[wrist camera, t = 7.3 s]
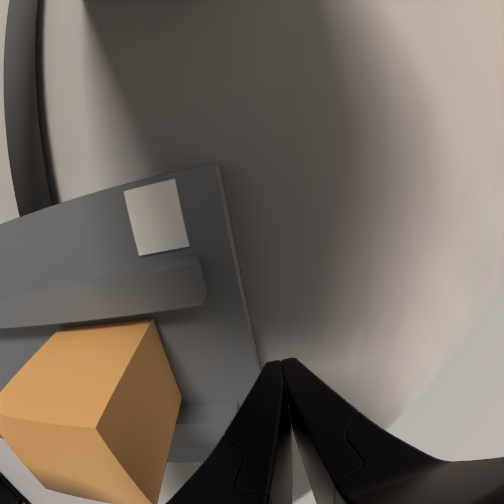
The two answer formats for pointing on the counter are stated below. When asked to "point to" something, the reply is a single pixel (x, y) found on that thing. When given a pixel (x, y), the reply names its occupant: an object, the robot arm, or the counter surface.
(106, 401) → the light orange rectangular block
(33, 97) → the dark grey parallel rods
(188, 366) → the plate
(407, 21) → the counter surface
